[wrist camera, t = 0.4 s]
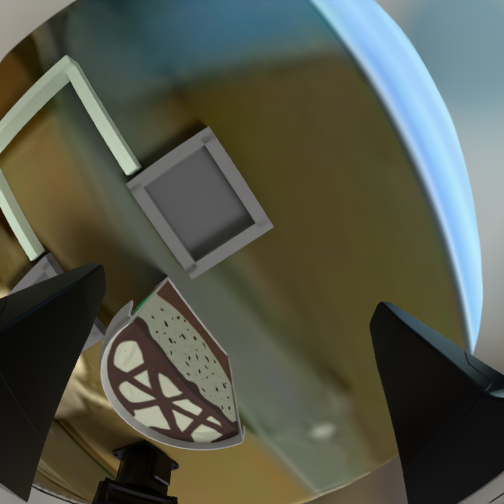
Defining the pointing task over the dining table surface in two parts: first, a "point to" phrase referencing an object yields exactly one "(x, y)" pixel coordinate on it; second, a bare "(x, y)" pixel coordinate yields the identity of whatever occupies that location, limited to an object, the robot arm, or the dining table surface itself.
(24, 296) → the robot arm
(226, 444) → the food container
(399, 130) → the dining table surface
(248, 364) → the dining table surface
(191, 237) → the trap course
